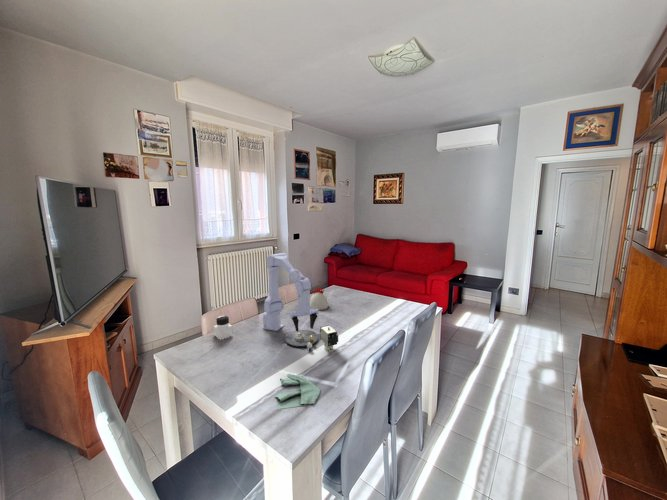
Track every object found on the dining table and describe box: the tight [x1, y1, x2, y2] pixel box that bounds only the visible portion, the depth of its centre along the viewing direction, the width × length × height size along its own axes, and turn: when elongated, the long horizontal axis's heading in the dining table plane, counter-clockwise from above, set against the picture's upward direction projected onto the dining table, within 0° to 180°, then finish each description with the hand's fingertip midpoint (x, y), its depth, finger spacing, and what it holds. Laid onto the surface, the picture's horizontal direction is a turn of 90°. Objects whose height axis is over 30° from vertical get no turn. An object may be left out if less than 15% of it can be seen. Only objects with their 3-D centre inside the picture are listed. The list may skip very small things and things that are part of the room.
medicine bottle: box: [213, 315, 234, 341], centre depth 148 cm, size 7×7×12 cm
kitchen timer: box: [310, 287, 329, 311], centre depth 194 cm, size 14×14×15 cm
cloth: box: [274, 373, 321, 410], centre depth 107 cm, size 20×22×2 cm
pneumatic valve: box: [319, 325, 339, 353], centre depth 135 cm, size 6×12×12 cm, turn 28°
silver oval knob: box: [306, 342, 312, 352], centre depth 135 cm, size 3×2×4 cm, turn 70°
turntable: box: [285, 329, 319, 347], centre depth 146 cm, size 17×17×4 cm
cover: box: [294, 332, 304, 342], centre depth 143 cm, size 5×5×4 cm
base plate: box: [280, 333, 322, 352], centre depth 146 cm, size 19×19×1 cm
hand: (304, 329), depth 138 cm, fingers open, 7 cm apart
